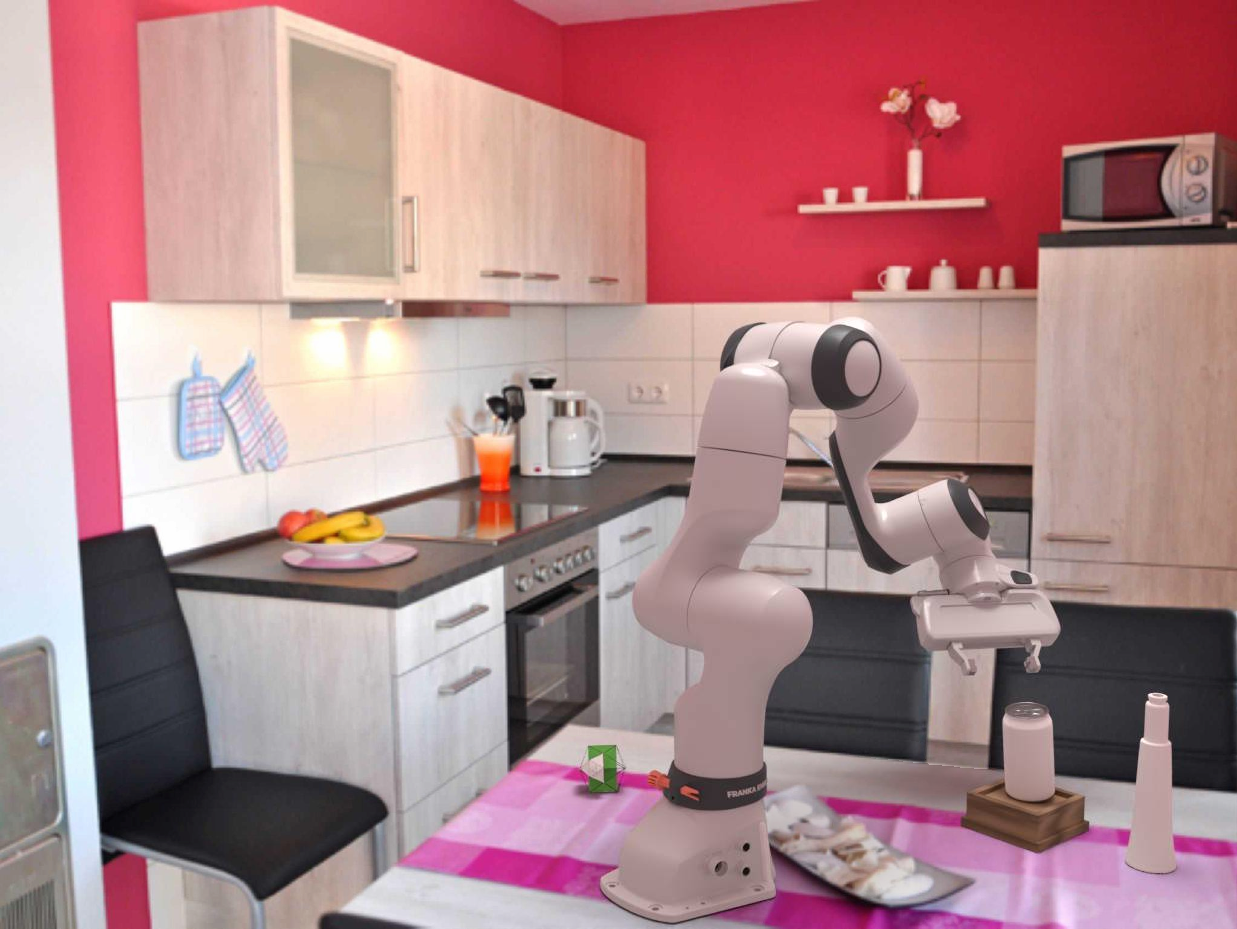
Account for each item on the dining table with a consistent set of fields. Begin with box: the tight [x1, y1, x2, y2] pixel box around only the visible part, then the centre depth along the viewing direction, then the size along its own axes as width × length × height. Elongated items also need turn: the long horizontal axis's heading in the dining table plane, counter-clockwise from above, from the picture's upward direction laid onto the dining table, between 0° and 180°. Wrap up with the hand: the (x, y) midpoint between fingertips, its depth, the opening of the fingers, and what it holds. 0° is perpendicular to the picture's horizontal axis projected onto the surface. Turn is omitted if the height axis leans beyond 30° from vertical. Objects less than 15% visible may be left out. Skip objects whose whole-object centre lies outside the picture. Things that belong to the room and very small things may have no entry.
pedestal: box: [960, 777, 1090, 854], centre depth 178 cm, size 12×12×5 cm
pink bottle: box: [1124, 692, 1177, 875], centre depth 165 cm, size 6×6×22 cm
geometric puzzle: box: [578, 744, 628, 793], centre depth 193 cm, size 7×7×8 cm
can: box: [1002, 701, 1056, 802], centre depth 178 cm, size 6×6×12 cm
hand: (1002, 672), depth 183 cm, fingers open, 8 cm apart
